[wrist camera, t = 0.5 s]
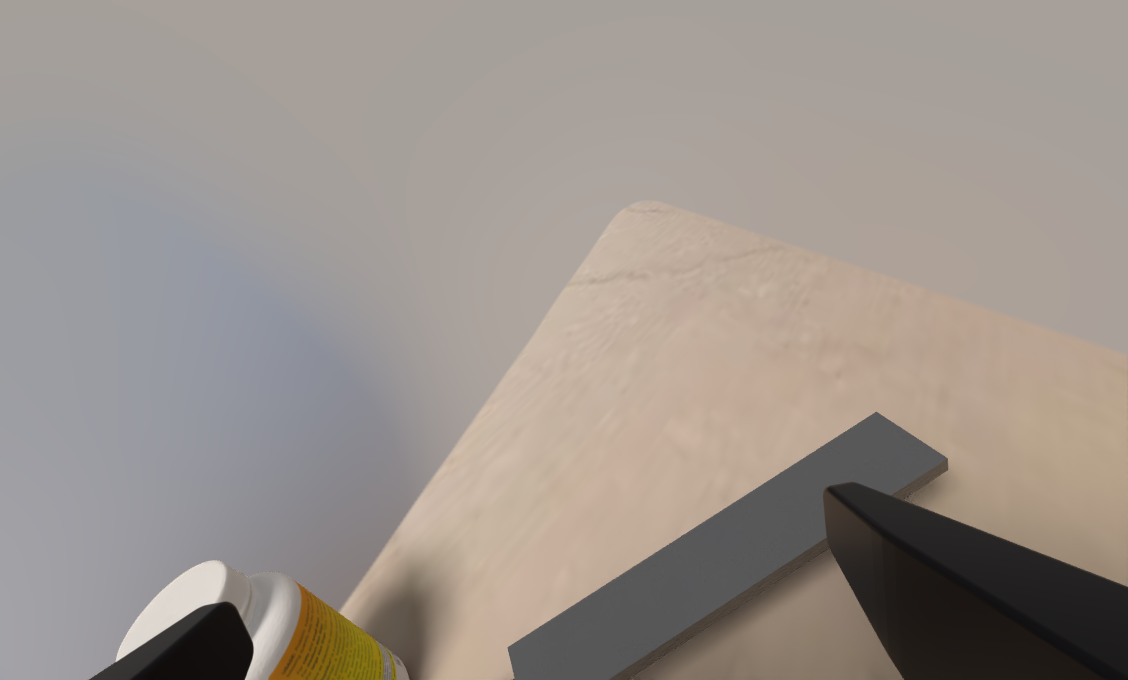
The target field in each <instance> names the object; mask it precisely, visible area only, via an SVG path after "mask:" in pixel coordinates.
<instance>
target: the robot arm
mask: <svg viewBox="0 0 1128 680" xmlns="http://www.w3.org/2000/svg"><path fill="white" fill-rule="evenodd" d="M823 506H824V516H825V527H826V536H827V540H828V544H829V547H830V549H831V551H832V553H833V555H834V557H835V559H836V561H837V563H838V564H839V566H840V568H841V570H842V572H843V574H844V575H845V577H846V579H847V581H848V583H849V585H850V586H851V588H852V590H853V592H854V594H855V596H856V597H857V599H858V601H859V603H860V605H861V607H862V608H863V610H864V612H865V614H866V616H867V618H868V620H869V621H870V623H871V625H872V627H873V629H874V631H875V632H876V634H877V636H878V638H879V640H880V641H881V643H882V645H883V647H884V648H885V650H886V652H887V654H888V655H889V657H890V659H891V660H892V662H893V663H894V665H895V666H896V668H897V669H898V671H899V672H900V674H901V676H902V677H903V678H904V680H1128V587H1127V586H1124V585H1122V584H1119V583H1117V582H1114V581H1111V580H1109V579H1106V578H1104V577H1101V576H1098V575H1096V574H1093V573H1091V572H1088V571H1085V570H1083V569H1080V568H1078V567H1075V566H1072V565H1070V564H1067V563H1065V562H1062V561H1059V560H1057V559H1054V558H1052V557H1049V556H1046V555H1044V554H1041V553H1039V552H1036V551H1033V550H1031V549H1028V548H1026V547H1023V546H1020V545H1018V544H1015V543H1013V542H1010V541H1007V540H1005V539H1002V538H1000V537H997V536H994V535H992V534H989V533H987V532H984V531H981V530H979V529H976V528H974V527H971V526H968V525H966V524H963V523H961V522H958V521H955V520H953V519H950V518H948V517H945V516H942V515H940V514H937V513H935V512H932V511H929V510H927V509H924V508H922V507H919V506H916V505H914V504H911V503H909V502H906V501H903V500H901V499H898V498H896V497H893V496H891V495H888V494H885V493H883V492H880V491H878V490H875V489H872V488H870V487H867V486H865V485H862V484H859V483H856V482H845V483H840V484H835V485H830V486H827V487H826V488H825V489H824V490H823ZM253 654H254V646H253V641H252V639H251V636H250V634H249V632H248V630H247V628H246V626H245V624H244V622H243V620H242V618H241V616H240V614H239V611H238V609H237V608H236V606H235V605H234V604H232V603H231V602H227V601H224V602H219V603H214V604H209V605H204V606H201V607H199V608H197V609H196V610H194V611H193V612H191V613H190V614H188V615H187V616H185V617H184V618H182V619H181V620H179V621H178V622H176V623H174V624H173V625H171V626H170V627H168V628H167V629H165V630H164V631H162V632H161V633H159V634H158V635H156V636H155V637H153V638H152V639H150V640H149V641H147V642H146V643H144V644H143V645H141V646H139V647H138V648H136V649H135V650H133V651H132V652H130V653H129V654H127V655H126V656H124V657H123V658H121V659H120V660H118V661H117V662H115V663H114V664H112V665H111V666H109V667H108V668H106V669H104V670H103V671H102V672H100V673H98V674H97V675H95V676H94V677H92V678H91V679H89V680H245V678H246V676H247V673H248V670H249V668H250V665H251V662H252V659H253Z"/></svg>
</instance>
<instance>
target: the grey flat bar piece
mask: <svg viewBox="0 0 1128 680" xmlns="http://www.w3.org/2000/svg"><path fill="white" fill-rule="evenodd" d="M947 470H948V458H946V457H945V456H943V455H942V454H940V453H939V452H937V451H936V450H934V449H932V448H931V447H929V446H928V445H926V444H925V443H923V442H922V441H920V440H919V439H917V438H916V437H914V436H913V435H911V434H910V433H908V432H906V431H905V430H903V429H902V428H900V427H899V426H897V425H896V424H894V423H893V422H891V421H890V420H888V419H887V418H885V417H884V416H882V415H880V414H879V413H877V412H875V413H874V414H872V415H871V416H869V417H867V418H866V419H864V420H863V421H861V422H860V423H858V424H856V425H855V426H853V427H852V428H850V429H849V430H847V431H846V432H844V433H842V434H841V435H839V436H838V437H836V438H835V439H833V440H831V441H830V442H828V443H827V444H825V445H824V446H822V447H820V448H819V449H817V450H816V451H814V452H813V453H811V454H810V455H808V456H806V457H805V458H803V459H802V460H800V461H799V462H797V463H795V464H794V465H792V466H791V467H789V468H788V469H786V470H785V471H783V472H781V473H780V474H778V475H777V476H775V477H774V478H772V479H770V480H769V481H767V482H766V483H764V484H763V485H761V486H759V487H758V488H756V489H755V490H753V491H752V492H750V493H749V494H747V495H745V496H744V497H742V498H741V499H739V500H738V501H736V502H734V503H733V504H731V505H730V506H728V507H727V508H725V509H723V510H722V511H720V512H719V513H717V514H716V515H714V516H713V517H711V518H709V519H708V520H706V521H705V522H703V523H702V524H700V525H698V526H697V527H695V528H694V529H692V530H691V531H689V532H687V533H686V534H684V535H683V536H681V537H680V538H678V539H677V540H675V541H673V542H672V543H670V544H669V545H667V546H666V547H664V548H662V549H661V550H659V551H658V552H656V553H655V554H653V555H652V556H650V557H648V558H647V559H645V560H644V561H642V562H641V563H639V564H637V565H636V566H634V567H633V568H631V569H630V570H628V571H626V572H625V573H623V574H622V575H620V576H619V577H617V578H616V579H614V580H612V581H611V582H609V583H608V584H606V585H605V586H603V587H601V588H600V589H598V590H597V591H595V592H594V593H592V594H590V595H589V596H587V597H586V598H584V599H583V600H581V601H580V602H578V603H576V604H575V605H573V606H572V607H570V608H569V609H567V610H565V611H564V612H562V613H561V614H559V615H558V616H556V617H555V618H553V619H551V620H550V621H548V622H547V623H545V624H544V625H542V626H540V627H539V628H537V629H536V630H534V631H533V632H531V633H529V634H528V635H526V636H525V637H523V638H522V639H520V640H519V641H517V642H515V643H514V644H512V645H511V646H509V647H508V652H509V656H510V660H511V664H512V668H513V672H514V677H515V678H514V679H513V680H627V679H629V678H631V677H632V676H634V675H635V674H637V673H638V672H640V671H641V670H643V669H644V668H646V667H647V666H649V665H650V664H652V663H653V662H655V661H657V660H658V659H660V658H661V657H663V656H664V655H666V654H667V653H669V652H670V651H672V650H673V649H675V648H676V647H678V646H679V645H681V644H683V643H684V642H686V641H687V640H689V639H690V638H692V637H693V636H695V635H696V634H698V633H699V632H701V631H702V630H704V629H705V628H707V627H709V626H710V625H712V624H713V623H715V622H716V621H718V620H719V619H721V618H722V617H724V616H725V615H727V614H728V613H730V612H731V611H733V610H735V609H736V608H738V607H739V606H741V605H742V604H744V603H745V602H747V601H748V600H750V599H751V598H753V597H754V596H756V595H758V594H759V593H761V592H762V591H764V590H765V589H767V588H768V587H770V586H771V585H773V584H774V583H776V582H777V581H779V580H780V579H782V578H784V577H785V576H787V575H788V574H790V573H791V572H793V571H794V570H796V569H797V568H799V567H800V566H802V565H803V564H805V563H806V562H808V561H810V560H811V559H813V558H814V557H816V556H817V555H819V554H820V553H822V552H823V551H825V550H826V549H828V548H829V544H828V540H827V536H826V527H825V516H824V506H823V490H824V489H825V488H826V487H827V486H830V485H835V484H840V483H845V482H856V483H859V484H862V485H865V486H867V487H870V488H872V489H875V490H878V491H880V492H883V493H885V494H888V495H891V496H893V497H896V498H898V499H901V500H903V499H904V498H906V497H907V496H909V495H910V494H912V493H914V492H915V491H917V490H918V489H920V488H921V487H923V486H924V485H926V484H927V483H929V482H930V481H932V480H933V479H935V478H936V477H938V476H940V475H941V474H943V473H944V472H946V471H947Z"/></svg>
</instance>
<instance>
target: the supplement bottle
mask: <svg viewBox="0 0 1128 680" xmlns="http://www.w3.org/2000/svg"><path fill="white" fill-rule="evenodd" d="M224 601H227V602H231V603H232V604H234V605H235V606H236V608H237V609H238V611H239V614H240V616H241V618H242V620H243V622H244V624H245V626H246V628H247V630H248V632H249V634H250V636H251V639H252V641H253V646H254V654H253V659H252V662H251V665H250V668H249V670H248V673H247V676H246V678H245V680H409V676H408V673H407V670H406V668H405V666H404V664H403V662H402V661H401V660H400V659H399V657H398V656H396V655H395V654H394V653H393V652H392V651H390V650H389V649H387V648H386V647H385V646H383V645H382V644H380V643H379V642H378V641H376V640H375V639H374V638H372V637H371V636H370V635H368V634H367V633H366V632H364V631H363V630H361V629H360V628H359V627H357V626H356V625H355V624H353V623H352V622H351V621H349V620H348V619H346V618H345V617H344V616H342V615H341V614H340V613H338V612H337V611H335V610H334V609H333V608H331V607H330V606H328V605H327V604H326V603H324V602H323V601H322V600H320V599H319V598H317V597H316V596H315V595H313V594H312V593H311V592H309V591H308V590H307V589H305V588H304V587H302V586H301V585H300V584H298V583H297V582H296V581H294V580H293V579H291V578H290V577H288V576H286V575H285V574H282V573H279V572H262V573H257V574H254V575H251V576H249V577H247V576H246V575H245V574H243V573H240V572H237V571H236V570H234V569H233V568H231V567H230V566H228V565H227V564H226V563H223V562H221V561H218V560H211V561H207V562H204V563H201V564H199V565H197V566H195V567H193V568H191V569H190V570H188V571H186V572H185V573H183V574H182V575H180V576H179V577H178V578H176V579H175V580H174V581H172V582H171V583H170V584H169V585H168V586H167V587H165V588H164V589H163V590H162V591H161V592H160V593H159V594H158V595H157V596H156V597H155V598H154V599H153V600H152V601H151V602H150V604H149V605H148V606H147V607H146V608H145V609H144V610H143V612H142V613H141V614H140V615H139V617H138V618H137V619H136V621H135V622H134V624H133V625H132V627H131V628H130V630H129V631H128V633H127V635H126V636H125V638H124V640H123V642H122V644H121V646H120V649H119V651H118V654H117V658H116V662H117V661H118V660H120V659H121V658H123V657H124V656H126V655H127V654H129V653H130V652H132V651H133V650H135V649H136V648H138V647H139V646H141V645H143V644H144V643H146V642H147V641H149V640H150V639H152V638H153V637H155V636H156V635H158V634H159V633H161V632H162V631H164V630H165V629H167V628H168V627H170V626H171V625H173V624H174V623H176V622H178V621H179V620H181V619H182V618H184V617H185V616H187V615H188V614H190V613H191V612H193V611H194V610H196V609H197V608H199V607H201V606H204V605H209V604H214V603H219V602H224Z"/></svg>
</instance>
